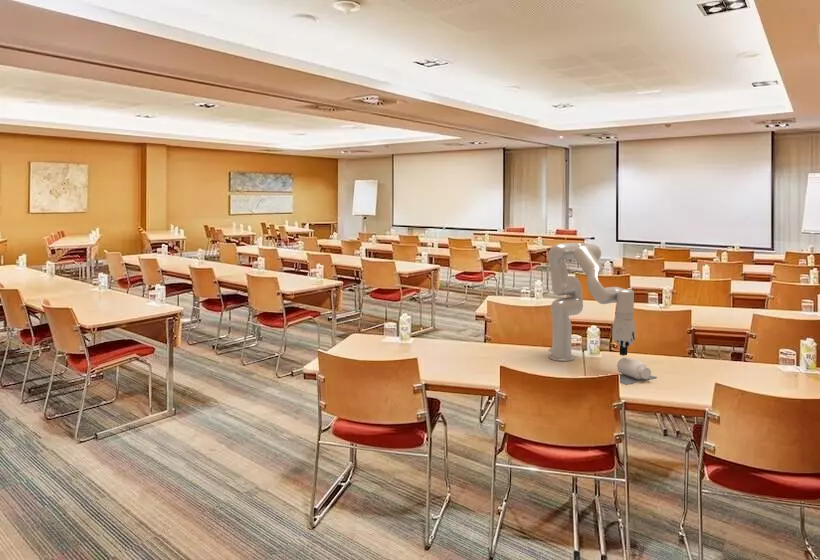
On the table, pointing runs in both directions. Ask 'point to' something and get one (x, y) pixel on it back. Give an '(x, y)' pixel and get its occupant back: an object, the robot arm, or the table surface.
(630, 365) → the pill bottle
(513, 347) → the table surface
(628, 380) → the mat
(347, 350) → the table surface
